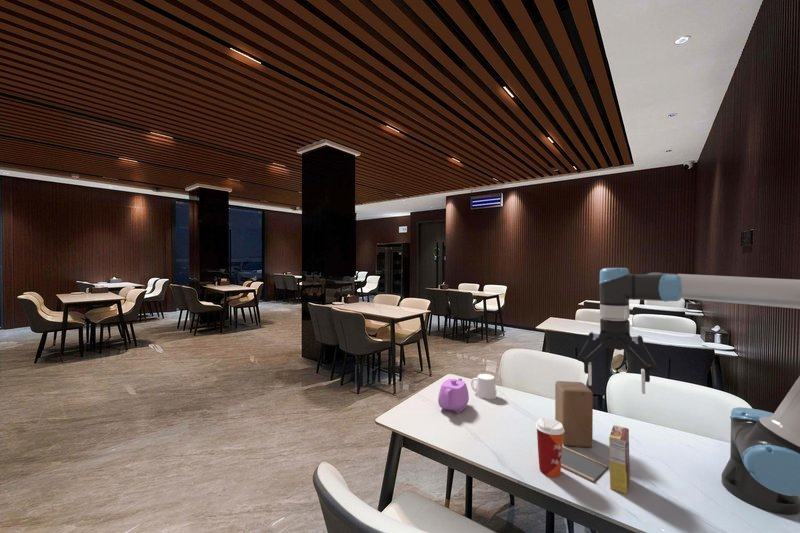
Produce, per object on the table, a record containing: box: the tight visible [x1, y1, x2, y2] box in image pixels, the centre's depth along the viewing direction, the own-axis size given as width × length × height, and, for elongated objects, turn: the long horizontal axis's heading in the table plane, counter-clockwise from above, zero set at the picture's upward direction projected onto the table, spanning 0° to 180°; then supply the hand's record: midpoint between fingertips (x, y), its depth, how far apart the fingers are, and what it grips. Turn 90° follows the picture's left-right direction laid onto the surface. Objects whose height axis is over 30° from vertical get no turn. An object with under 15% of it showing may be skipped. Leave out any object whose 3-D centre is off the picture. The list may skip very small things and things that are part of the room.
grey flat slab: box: [561, 445, 609, 483], centre depth 108 cm, size 16×11×1 cm
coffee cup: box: [535, 417, 565, 478], centre depth 104 cm, size 8×8×15 cm
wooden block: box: [554, 380, 594, 448], centre depth 121 cm, size 10×10×20 cm
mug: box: [470, 373, 498, 400], centre depth 161 cm, size 12×9×8 cm
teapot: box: [437, 377, 470, 414], centre depth 148 cm, size 20×12×13 cm, turn 151°
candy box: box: [608, 424, 631, 495], centre depth 97 cm, size 9×4×15 cm, turn 140°
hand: (615, 388), depth 101 cm, fingers open, 13 cm apart
